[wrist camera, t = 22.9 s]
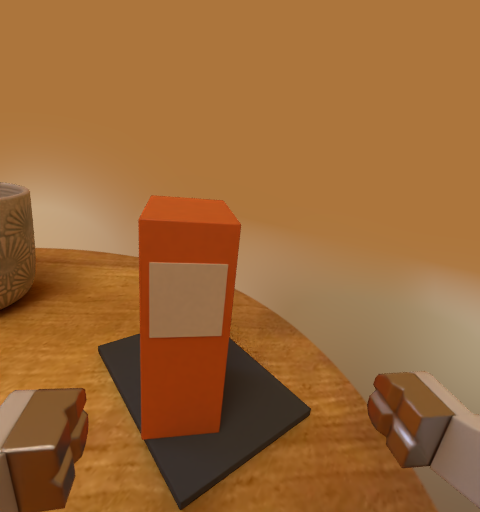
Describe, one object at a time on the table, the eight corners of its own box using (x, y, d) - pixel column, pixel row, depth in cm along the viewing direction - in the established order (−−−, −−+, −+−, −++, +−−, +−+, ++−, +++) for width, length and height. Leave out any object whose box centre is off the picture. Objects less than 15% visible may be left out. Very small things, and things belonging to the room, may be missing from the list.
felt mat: (309, 415, 21) (311, 408, 20) (180, 511, 15) (180, 503, 14) (202, 319, 31) (202, 314, 30) (98, 351, 24) (97, 345, 24)
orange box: (219, 434, 18) (241, 224, 14) (141, 441, 17) (138, 218, 13) (210, 364, 24) (223, 200, 19) (150, 367, 23) (150, 195, 18)
